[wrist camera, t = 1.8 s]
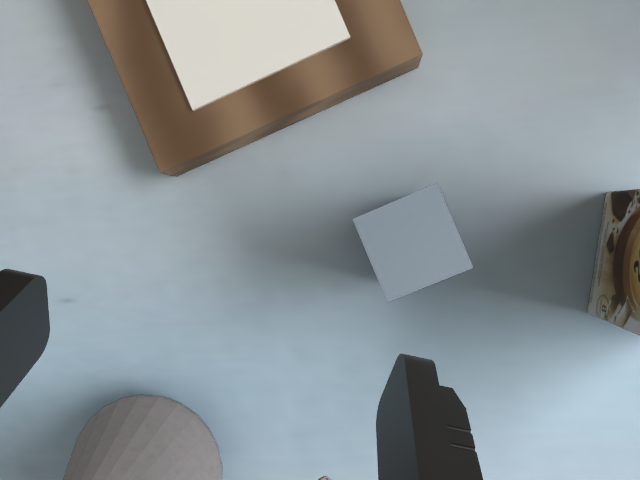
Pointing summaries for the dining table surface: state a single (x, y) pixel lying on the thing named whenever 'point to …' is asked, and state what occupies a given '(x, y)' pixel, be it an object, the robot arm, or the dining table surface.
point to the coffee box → (618, 262)
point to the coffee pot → (145, 443)
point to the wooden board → (246, 65)
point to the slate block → (412, 242)
